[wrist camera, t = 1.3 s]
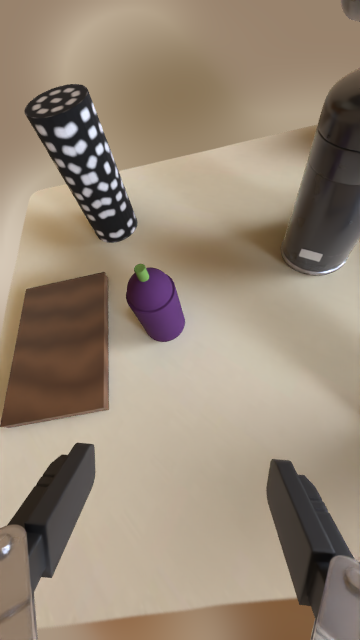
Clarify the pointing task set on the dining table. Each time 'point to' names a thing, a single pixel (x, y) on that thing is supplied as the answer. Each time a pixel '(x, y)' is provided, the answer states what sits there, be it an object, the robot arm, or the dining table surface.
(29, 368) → the cutting board
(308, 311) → the dining table surface
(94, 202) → the spotted tube
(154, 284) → the eggplant
